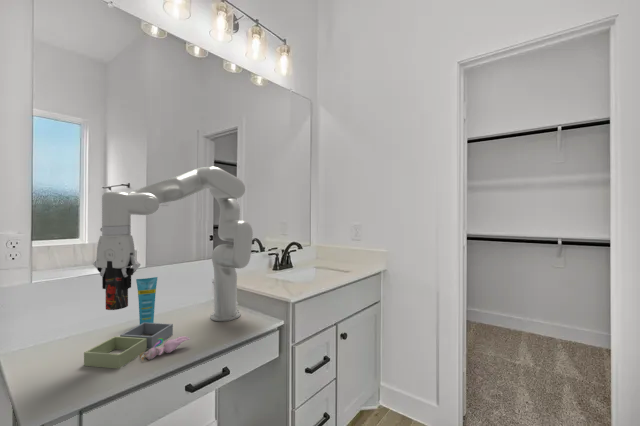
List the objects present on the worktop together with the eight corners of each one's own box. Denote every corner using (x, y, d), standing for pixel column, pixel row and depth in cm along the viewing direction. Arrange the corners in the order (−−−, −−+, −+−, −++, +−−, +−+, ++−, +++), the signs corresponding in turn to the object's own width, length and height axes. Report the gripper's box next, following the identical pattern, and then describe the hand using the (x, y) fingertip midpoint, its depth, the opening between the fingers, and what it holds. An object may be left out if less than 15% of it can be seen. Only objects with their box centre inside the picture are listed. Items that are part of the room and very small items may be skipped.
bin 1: (114, 348, 103) (114, 336, 103) (146, 350, 102) (146, 338, 102) (83, 365, 91) (83, 352, 91) (119, 368, 90) (119, 355, 90)
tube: (136, 328, 119) (136, 280, 119) (135, 324, 123) (135, 277, 123) (157, 325, 123) (157, 277, 123) (156, 321, 127) (156, 275, 127)
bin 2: (144, 332, 116) (144, 322, 116) (172, 334, 114) (172, 324, 114) (120, 346, 104) (120, 335, 104) (151, 349, 103) (151, 337, 103)
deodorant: (131, 306, 97) (131, 259, 97) (110, 311, 92) (110, 262, 92) (122, 302, 100) (122, 257, 100) (101, 307, 95) (101, 260, 95)
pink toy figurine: (144, 368, 93) (193, 345, 103) (141, 350, 92) (190, 329, 102) (139, 361, 97) (186, 340, 108) (135, 343, 97) (184, 324, 107)
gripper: (81, 231, 93) (81, 290, 94) (133, 232, 91) (133, 292, 91) (102, 230, 101) (102, 284, 101) (150, 231, 99) (150, 286, 99)
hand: (116, 287), depth 96 cm, fingers closed on deodorant, 5 cm apart
